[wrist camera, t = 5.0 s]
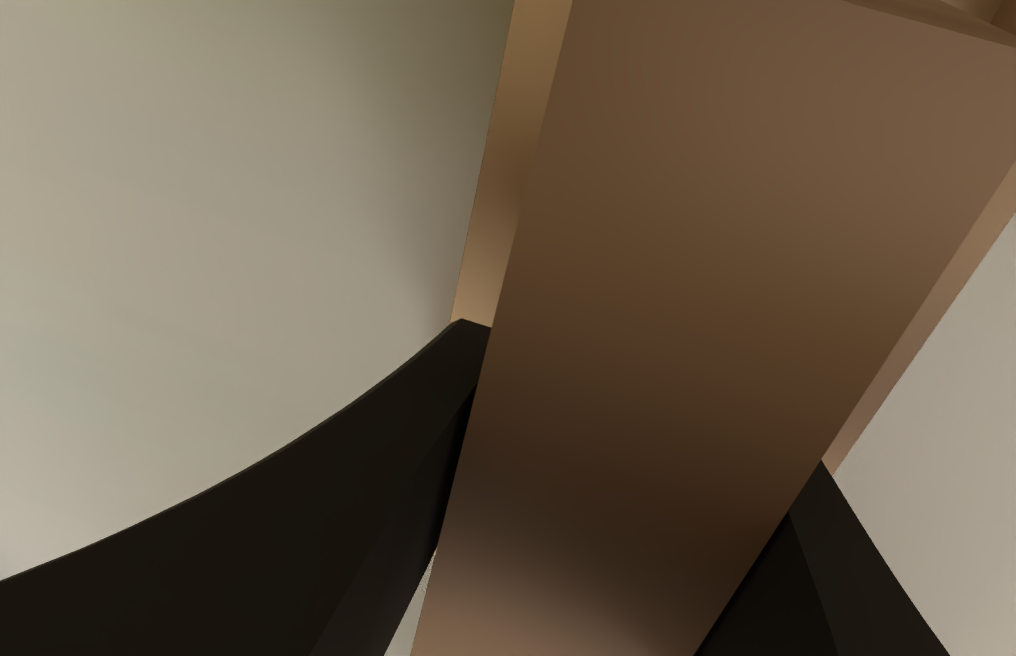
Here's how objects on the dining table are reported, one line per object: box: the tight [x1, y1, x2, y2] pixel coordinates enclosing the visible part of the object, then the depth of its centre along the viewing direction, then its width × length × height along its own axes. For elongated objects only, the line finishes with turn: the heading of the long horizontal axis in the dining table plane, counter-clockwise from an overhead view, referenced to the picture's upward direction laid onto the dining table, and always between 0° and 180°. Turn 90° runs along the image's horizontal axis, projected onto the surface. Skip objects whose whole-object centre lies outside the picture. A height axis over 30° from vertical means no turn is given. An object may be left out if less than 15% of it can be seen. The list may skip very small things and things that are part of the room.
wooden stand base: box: [433, 0, 1016, 555], centre depth 12 cm, size 18×7×4 cm, turn 168°
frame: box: [410, 0, 1016, 656], centre depth 10 cm, size 10×3×6 cm, turn 168°
